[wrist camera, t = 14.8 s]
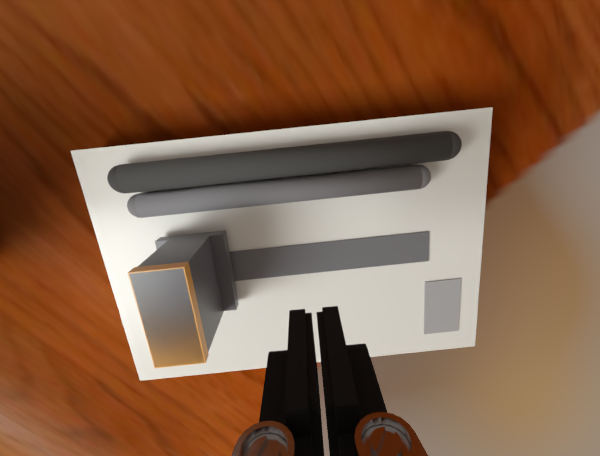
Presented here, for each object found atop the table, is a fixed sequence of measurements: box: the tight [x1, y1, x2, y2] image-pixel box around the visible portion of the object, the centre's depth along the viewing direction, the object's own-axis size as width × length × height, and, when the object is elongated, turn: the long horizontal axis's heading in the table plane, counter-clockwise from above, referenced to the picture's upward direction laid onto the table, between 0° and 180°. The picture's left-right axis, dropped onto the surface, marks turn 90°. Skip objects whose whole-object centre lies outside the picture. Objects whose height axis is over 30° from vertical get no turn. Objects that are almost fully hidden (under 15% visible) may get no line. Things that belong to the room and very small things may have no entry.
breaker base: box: [71, 107, 493, 381], centre depth 21 cm, size 24×16×5 cm, turn 96°
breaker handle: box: [128, 230, 238, 368], centre depth 17 cm, size 4×5×5 cm
